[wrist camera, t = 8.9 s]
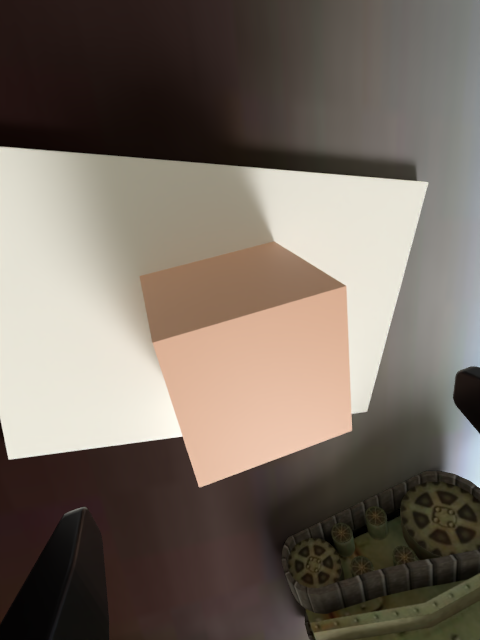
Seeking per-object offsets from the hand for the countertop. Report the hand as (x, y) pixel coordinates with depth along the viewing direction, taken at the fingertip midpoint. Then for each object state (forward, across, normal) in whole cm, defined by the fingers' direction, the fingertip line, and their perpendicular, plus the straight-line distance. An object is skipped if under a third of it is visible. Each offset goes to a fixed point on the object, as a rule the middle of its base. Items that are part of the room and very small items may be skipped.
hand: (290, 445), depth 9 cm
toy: (+8, -10, +20) cm, 24 cm away
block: (+7, 0, 0) cm, 7 cm away
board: (+8, 0, 0) cm, 8 cm away
